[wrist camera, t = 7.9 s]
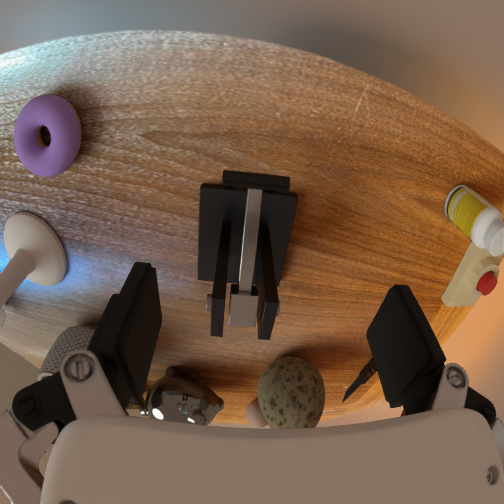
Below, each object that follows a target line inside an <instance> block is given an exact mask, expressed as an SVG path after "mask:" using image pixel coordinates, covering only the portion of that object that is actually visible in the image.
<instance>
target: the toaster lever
mask: <svg viewBox="0 0 504 504" xmlns="http://www.w3.org/2000/svg"><path fill="white" fill-rule="evenodd" d="M289 187H290V178H289V177H286V176H278V175H270V174H261V173H252V172H242V171H231V170H223V176H222V189H232V190H242V191H247V197H246V207H245V217H244V227H243V237H242V247H241V258H240V268H239V279H238V284H231V291H230V303H229V319H228V325H229V326H241V327H255V325H256V317H257V309H258V300H259V295H258V290H257V286H252V283H253V274H254V265H255V256H256V247H257V237H258V228H259V219H260V210H261V200H262V193H271V194H280V195H288V192H289Z"/></svg>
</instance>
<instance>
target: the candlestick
mask: <svg viewBox="0 0 504 504" xmlns="http://www.w3.org/2000/svg"><path fill="white" fill-rule="evenodd" d="M4 242H5V247H6V250H7V253H8V256H9V258H10V262H9V263H8V265H7V266H6V267H5V269H4V270H3V271H2V273H1V274H0V309H1V308H2V306H3V305H4V304H5V303H6V301H7V300H8V299H9V297H10V296H11V295H12V294H13V292H14V291H15V290H16V289H17V288H18V286H19V285H20V284H21V283H22V282H23V280H24V279H26V278H27V279H28V280H30V281H32V282H34V283H36V284H39V285H43V286H53V285H56V284H58V283H59V282H60V281H61V280H62V279H63V277H64V275H65V273H66V269H67V260H66V255H65V251H64V249H63V246H62V244H61V242H60V240H59V238H58V237H57V235H56V234H55V232H54V231H53V230H52V229H51V228H50V226H49V225H48V224H47V223H45V222H44V221H43V220H42V219H40V218H39V217H37V216H36V215H34V214H31V213H28V212H19V213H16V214H14V215H13V216H11V217H10V218H9V220H8V221H7V223H6V225H5V228H4Z"/></svg>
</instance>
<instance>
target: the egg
mask: <svg viewBox="0 0 504 504" xmlns="http://www.w3.org/2000/svg"><path fill="white" fill-rule="evenodd" d="M246 416H247V419H248V421H249V423H250V424H251V425H252V426H253V427H255V428H262V427H264V426H265V425H267V422H266V420H265V418H264V416H263V414H262V412H261V409H260V406H259V402H258V399H257V400H254V401H252V402H251V403H250V404H249V405H248V407H247V410H246Z"/></svg>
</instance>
